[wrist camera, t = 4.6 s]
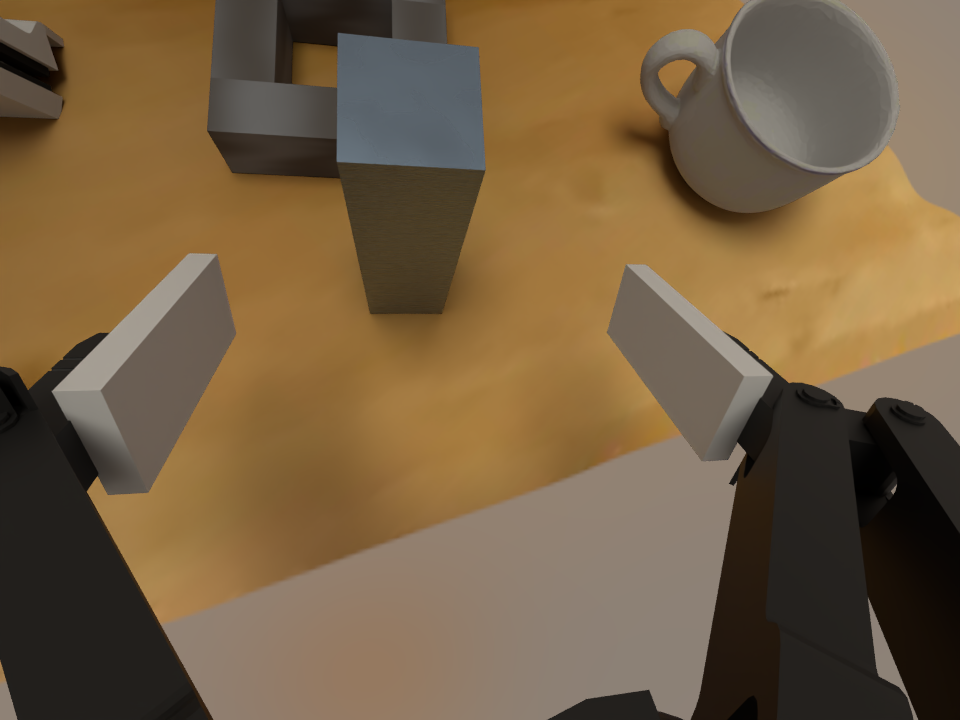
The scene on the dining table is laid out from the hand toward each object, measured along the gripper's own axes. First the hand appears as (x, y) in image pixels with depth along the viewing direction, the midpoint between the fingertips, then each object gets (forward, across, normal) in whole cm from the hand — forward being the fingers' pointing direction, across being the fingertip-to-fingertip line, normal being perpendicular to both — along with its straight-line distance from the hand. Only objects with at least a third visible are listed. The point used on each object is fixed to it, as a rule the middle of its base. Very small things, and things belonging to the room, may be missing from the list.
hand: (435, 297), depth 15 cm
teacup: (+18, +19, +2) cm, 26 cm away
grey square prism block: (+11, -1, -4) cm, 12 cm away
